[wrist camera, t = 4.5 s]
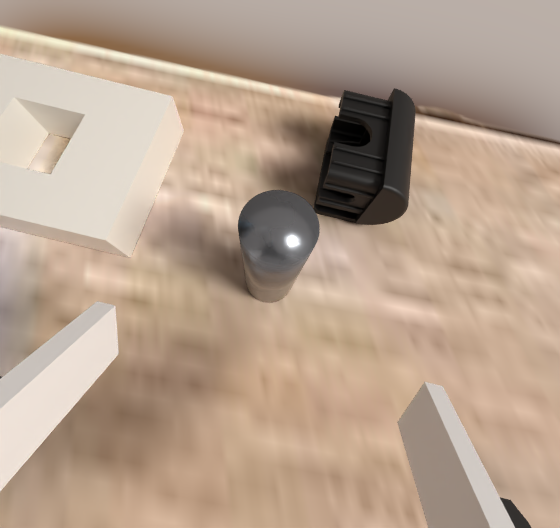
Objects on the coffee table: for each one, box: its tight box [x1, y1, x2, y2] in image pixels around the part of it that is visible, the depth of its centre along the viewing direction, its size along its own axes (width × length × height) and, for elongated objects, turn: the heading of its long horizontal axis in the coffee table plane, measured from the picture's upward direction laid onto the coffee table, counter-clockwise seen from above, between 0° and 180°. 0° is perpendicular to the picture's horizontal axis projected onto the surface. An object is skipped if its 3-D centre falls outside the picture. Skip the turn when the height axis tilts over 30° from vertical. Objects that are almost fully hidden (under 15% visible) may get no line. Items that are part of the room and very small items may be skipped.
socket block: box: [0, 54, 184, 258], centre depth 24 cm, size 18×14×4 cm
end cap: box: [314, 89, 415, 225], centre depth 24 cm, size 10×7×7 cm
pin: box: [238, 190, 319, 303], centre depth 19 cm, size 4×4×11 cm
